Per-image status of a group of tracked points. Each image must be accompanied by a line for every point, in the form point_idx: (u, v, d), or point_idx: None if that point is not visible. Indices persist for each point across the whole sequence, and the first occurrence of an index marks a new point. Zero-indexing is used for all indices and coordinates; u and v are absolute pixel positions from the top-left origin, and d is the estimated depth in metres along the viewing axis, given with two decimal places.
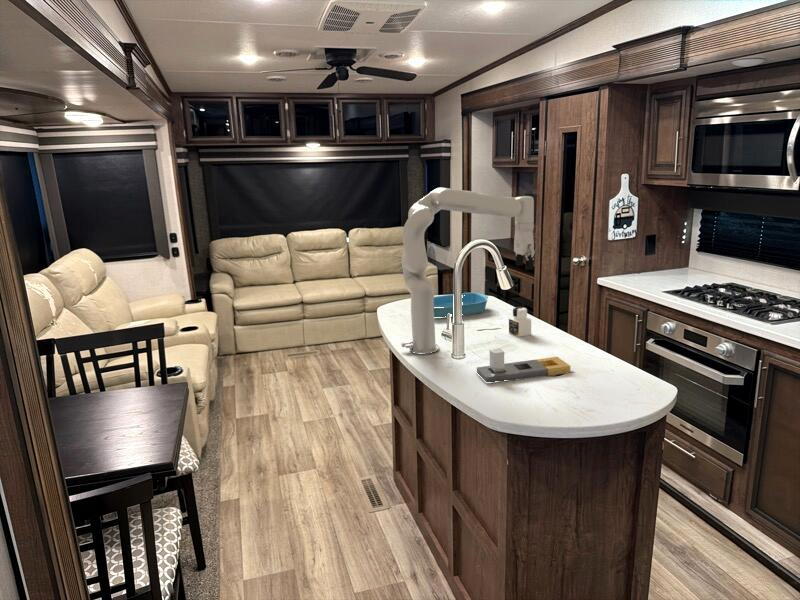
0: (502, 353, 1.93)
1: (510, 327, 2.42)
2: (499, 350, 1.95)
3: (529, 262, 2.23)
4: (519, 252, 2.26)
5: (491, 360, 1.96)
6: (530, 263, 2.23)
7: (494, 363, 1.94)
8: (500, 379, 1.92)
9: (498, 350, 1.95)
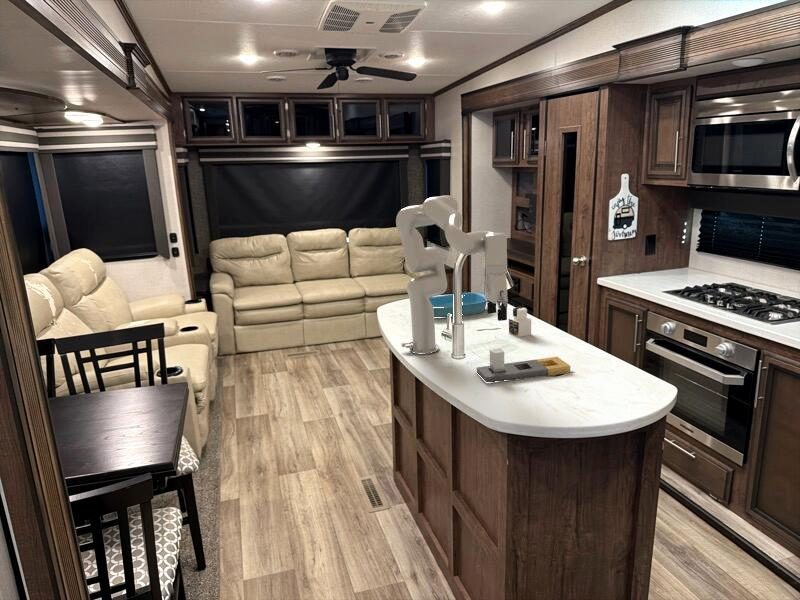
0: (502, 353, 1.93)
1: (510, 327, 2.42)
2: (499, 350, 1.95)
3: (502, 312, 1.86)
4: (490, 299, 1.89)
5: (491, 360, 1.96)
6: (503, 313, 1.86)
7: (494, 363, 1.94)
8: (500, 379, 1.92)
9: (498, 350, 1.95)
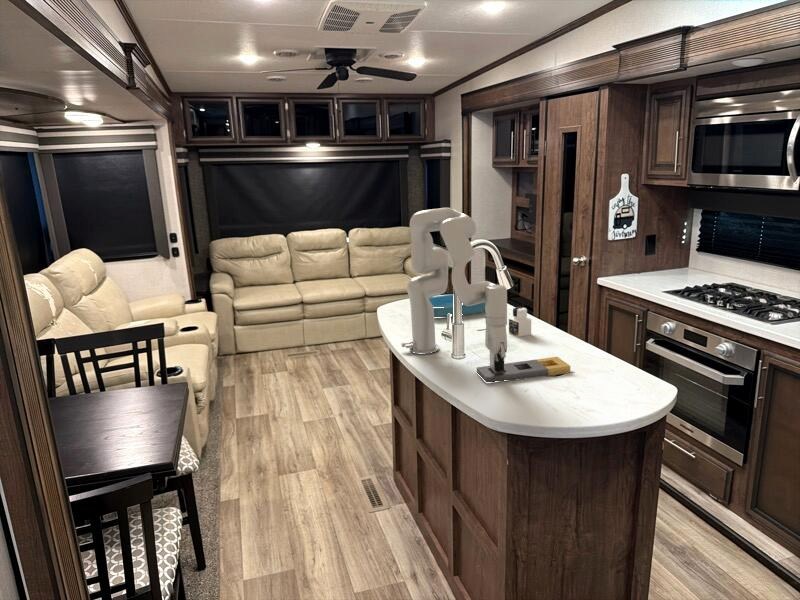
0: None
1: (510, 327, 2.42)
2: None
3: (499, 363, 1.93)
4: (490, 349, 1.93)
5: (491, 360, 1.96)
6: (500, 364, 1.93)
7: (494, 363, 1.94)
8: (500, 379, 1.92)
9: None
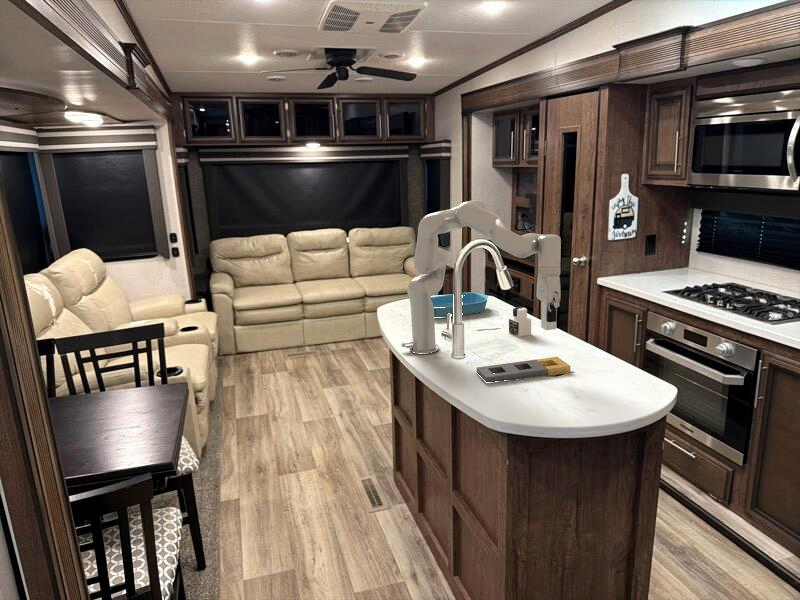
0: None
1: (510, 327, 2.42)
2: None
3: (552, 314, 1.92)
4: (543, 300, 1.92)
5: (543, 311, 1.95)
6: (553, 315, 1.92)
7: (546, 313, 1.93)
8: (500, 379, 1.92)
9: None
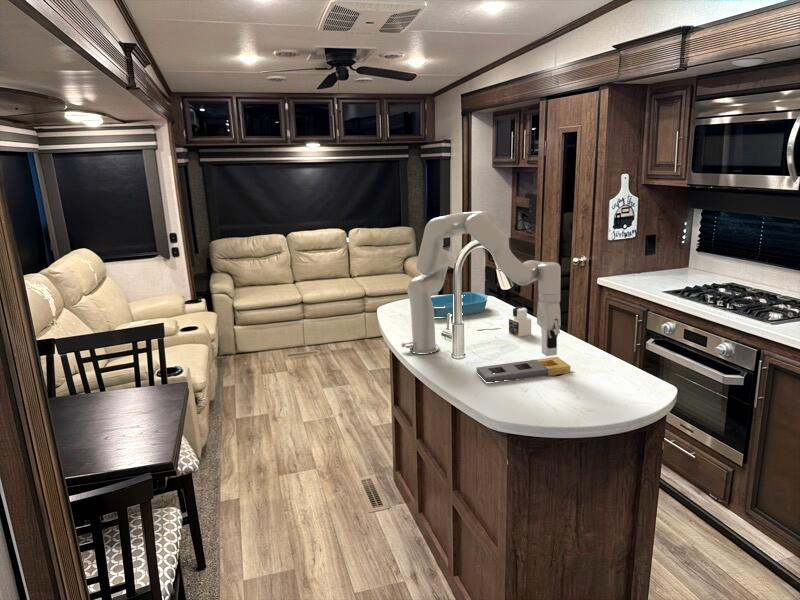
0: None
1: (510, 327, 2.42)
2: None
3: (552, 340, 1.95)
4: (543, 326, 1.95)
5: (543, 337, 1.98)
6: (553, 341, 1.95)
7: (547, 339, 1.96)
8: (500, 379, 1.92)
9: None
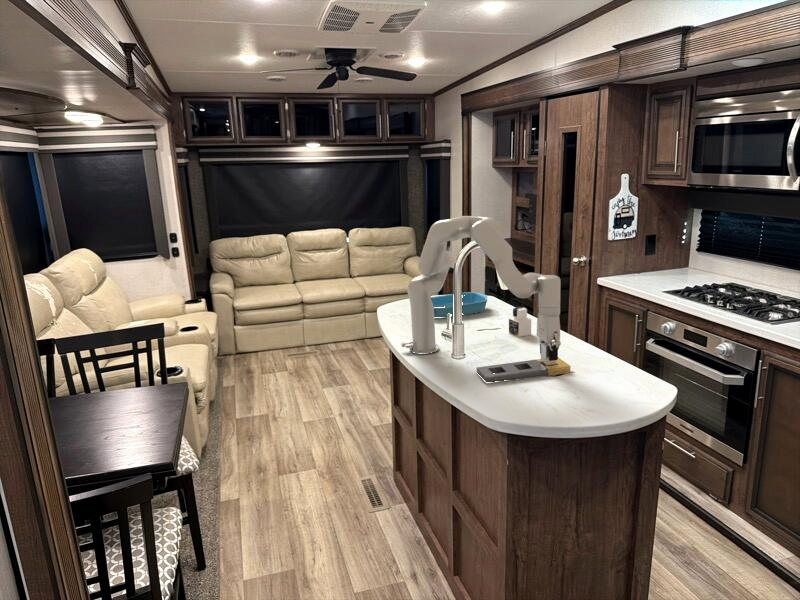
0: None
1: (510, 327, 2.42)
2: None
3: (553, 353, 1.95)
4: (543, 339, 1.96)
5: (543, 353, 1.99)
6: (554, 354, 1.95)
7: (546, 356, 1.97)
8: (500, 379, 1.92)
9: None
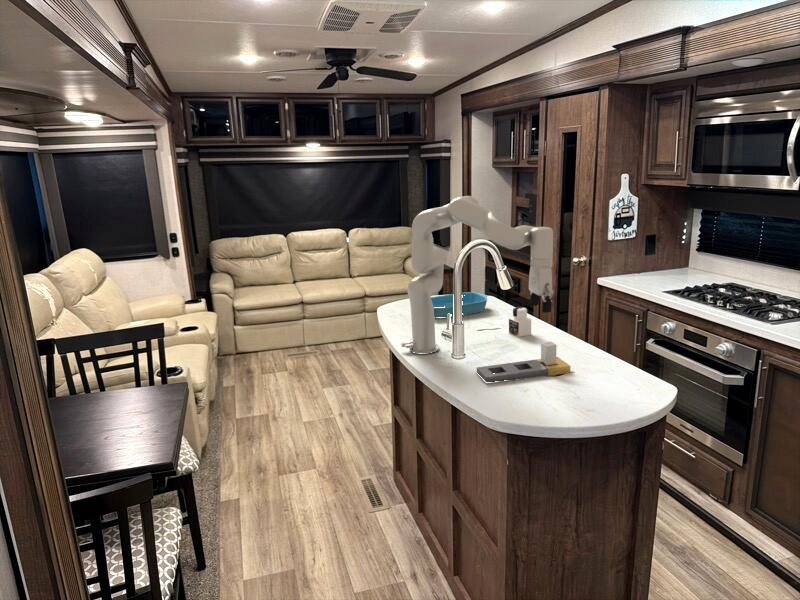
0: (554, 346, 1.97)
1: (510, 327, 2.42)
2: (551, 343, 1.99)
3: (547, 304, 1.91)
4: (535, 292, 1.94)
5: (543, 353, 1.99)
6: (548, 305, 1.91)
7: (546, 356, 1.97)
8: (500, 379, 1.92)
9: (549, 344, 1.98)
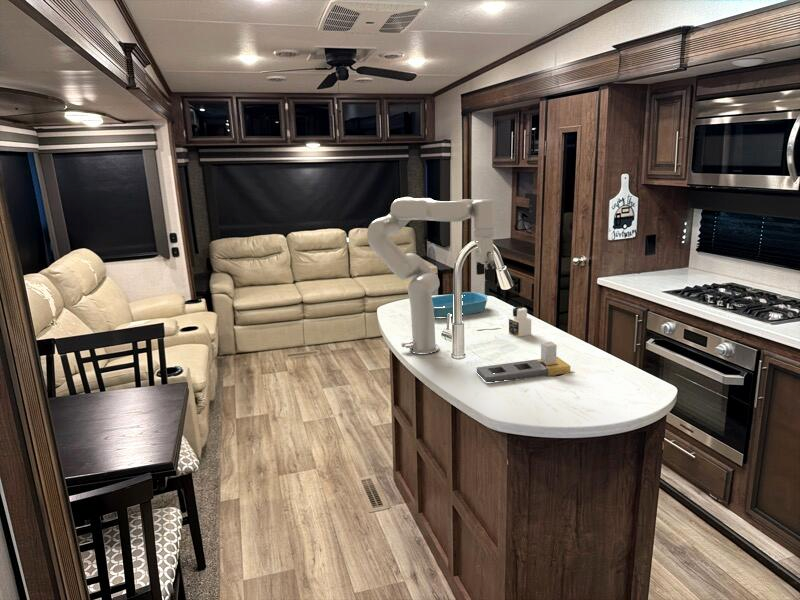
0: (554, 346, 1.97)
1: (510, 327, 2.42)
2: (551, 343, 1.99)
3: (489, 271, 2.05)
4: (478, 260, 2.07)
5: (543, 353, 1.99)
6: (490, 272, 2.05)
7: (546, 356, 1.97)
8: (500, 379, 1.92)
9: (550, 344, 1.98)
